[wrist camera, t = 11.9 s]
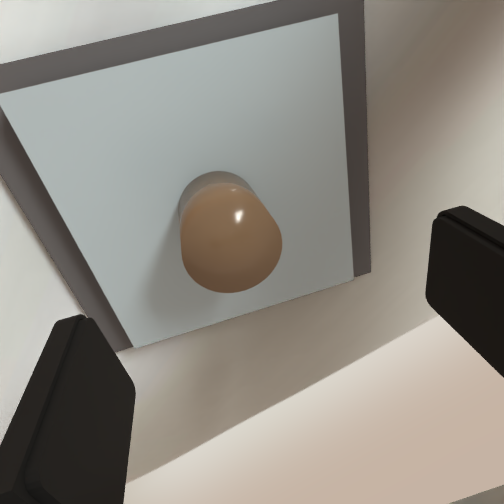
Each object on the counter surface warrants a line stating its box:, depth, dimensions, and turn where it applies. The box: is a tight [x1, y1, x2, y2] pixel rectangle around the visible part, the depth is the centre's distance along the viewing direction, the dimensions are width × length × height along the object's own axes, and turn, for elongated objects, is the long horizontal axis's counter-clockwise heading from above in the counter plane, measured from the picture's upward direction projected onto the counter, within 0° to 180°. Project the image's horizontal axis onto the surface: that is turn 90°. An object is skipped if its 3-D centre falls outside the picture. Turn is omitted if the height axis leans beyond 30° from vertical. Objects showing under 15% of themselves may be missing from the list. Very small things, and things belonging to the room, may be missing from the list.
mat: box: [0, 0, 371, 352], centre depth 18 cm, size 18×16×1 cm
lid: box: [0, 13, 354, 349], centre depth 16 cm, size 14×14×6 cm
